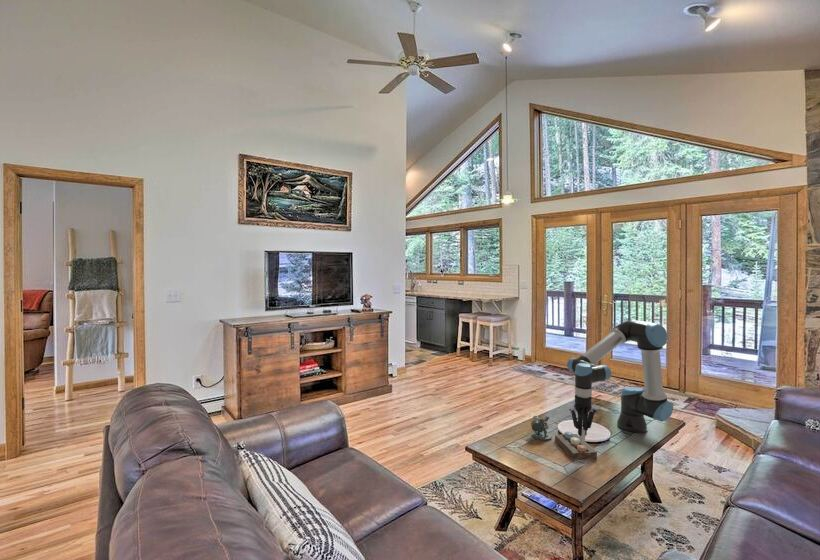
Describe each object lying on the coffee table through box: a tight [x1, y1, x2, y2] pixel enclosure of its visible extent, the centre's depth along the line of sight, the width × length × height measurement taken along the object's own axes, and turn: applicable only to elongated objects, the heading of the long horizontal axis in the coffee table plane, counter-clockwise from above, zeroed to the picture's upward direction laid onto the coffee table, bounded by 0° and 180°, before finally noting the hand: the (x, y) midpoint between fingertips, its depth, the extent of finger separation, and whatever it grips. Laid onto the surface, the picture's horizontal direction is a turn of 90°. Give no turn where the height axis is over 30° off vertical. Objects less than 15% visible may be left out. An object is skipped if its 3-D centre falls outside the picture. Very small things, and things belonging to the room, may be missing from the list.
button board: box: [554, 433, 598, 461], centre depth 207 cm, size 12×20×4 cm, turn 5°
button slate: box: [564, 431, 574, 440], centre depth 213 cm, size 4×4×3 cm
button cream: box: [570, 437, 580, 446], centre depth 206 cm, size 4×4×3 cm
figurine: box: [530, 415, 553, 442], centre depth 221 cm, size 11×11×12 cm
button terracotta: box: [577, 445, 587, 452], centre depth 200 cm, size 4×4×3 cm
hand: (582, 441), depth 200 cm, fingers closed
